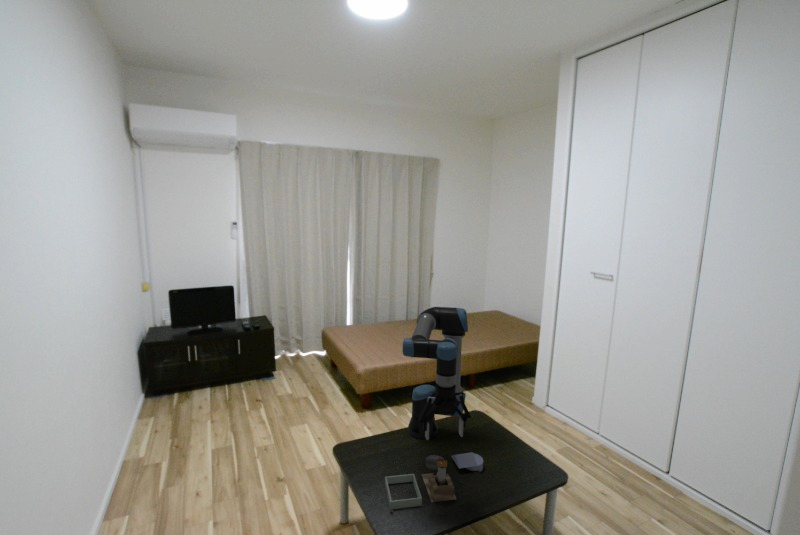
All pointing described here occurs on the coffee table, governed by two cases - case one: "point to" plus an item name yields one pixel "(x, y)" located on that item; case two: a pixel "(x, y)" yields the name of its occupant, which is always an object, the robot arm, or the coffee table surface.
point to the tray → (403, 502)
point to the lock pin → (441, 471)
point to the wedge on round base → (469, 461)
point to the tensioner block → (431, 482)
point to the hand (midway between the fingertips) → (444, 436)
